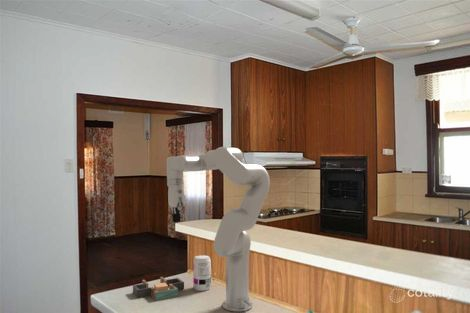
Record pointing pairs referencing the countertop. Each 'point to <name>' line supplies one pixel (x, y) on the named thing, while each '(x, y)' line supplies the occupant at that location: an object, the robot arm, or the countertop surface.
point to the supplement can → (202, 273)
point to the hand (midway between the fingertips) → (176, 221)
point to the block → (161, 287)
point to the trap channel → (144, 291)
